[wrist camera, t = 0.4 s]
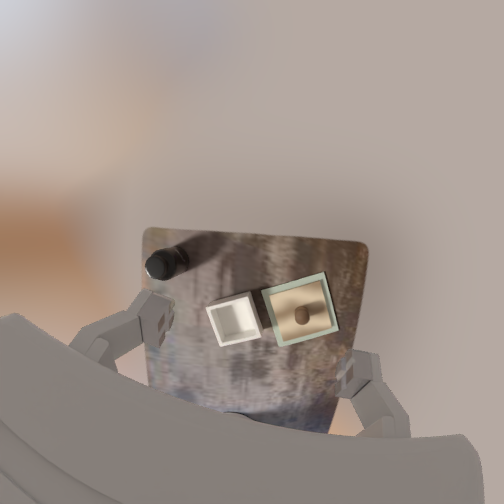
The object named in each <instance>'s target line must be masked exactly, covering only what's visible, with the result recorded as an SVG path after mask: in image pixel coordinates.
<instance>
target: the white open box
mask: <svg viewBox="0 0 504 504" xmlns="http://www.w3.org/2000/svg"><path fill="white" fill-rule="evenodd" d="M206 310H207V313H208V316H209V318H210V321H211V324H212V326H213V329H214V332H215V334H216V337H217V340H218V342H219V345H220V347H221V346H226V345H230V344H235V343H239V342H243V341H248V340H252V339H256V338H260V337H261V336H262V331H263V328H262V325H261V322H260V319H259V316H258V313H257V310H256V307H255V304H254V301H253V298H252V295H251V292H250V291H249V292H245V293H241V294H238V295H234V296H231V297H227V298H223V299H219V300H216V301H212V302H210V303H209V304H208V306H207V307H206Z"/></svg>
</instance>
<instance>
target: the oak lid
mask: <svg viewBox="0 0 504 504" xmlns="http://www.w3.org/2000/svg"><path fill="white" fill-rule="evenodd" d="M269 297H270V301H271V304H272V307H273V310H274V313H275V317H276V320H277V323H278V326H279V329H280V333H281V336H282V339H283V342H284V341H288V340H292V339H296V338H299V337H303V336H306V335H310V334H313V333H317V332H320V331H324V330H327V329H330V328H332V326H331V322H330V318H329V314H328V310H327V306H326V302H325V298H324V294H323V291H322V287H321V283H320V280H318V281H315V282H311V283H308V284H305V285H301V286H298V287H295V288H291V289H288V290H285V291H281V292H278V293H274V294H271V295H269Z"/></svg>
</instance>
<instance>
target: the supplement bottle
mask: <svg viewBox="0 0 504 504" xmlns="http://www.w3.org/2000/svg"><path fill="white" fill-rule="evenodd" d="M188 265H189V258H188V255H187V253H186V252H185V251H184V250H183V249H182V248H179V247H170V248H165V249H160V250H157V251H155V252H154V253H153V254H152V255H151V257H149V258H148V260H147V261H146V264H145V269H146V272H147V274H148V275H149V277H151V278H153V279H158V280H162V281H165V280H169V279H171V278H173V277H176V276H178V275H180V274H182V273H183V272H185V271H186V269H187V268H188Z"/></svg>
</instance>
